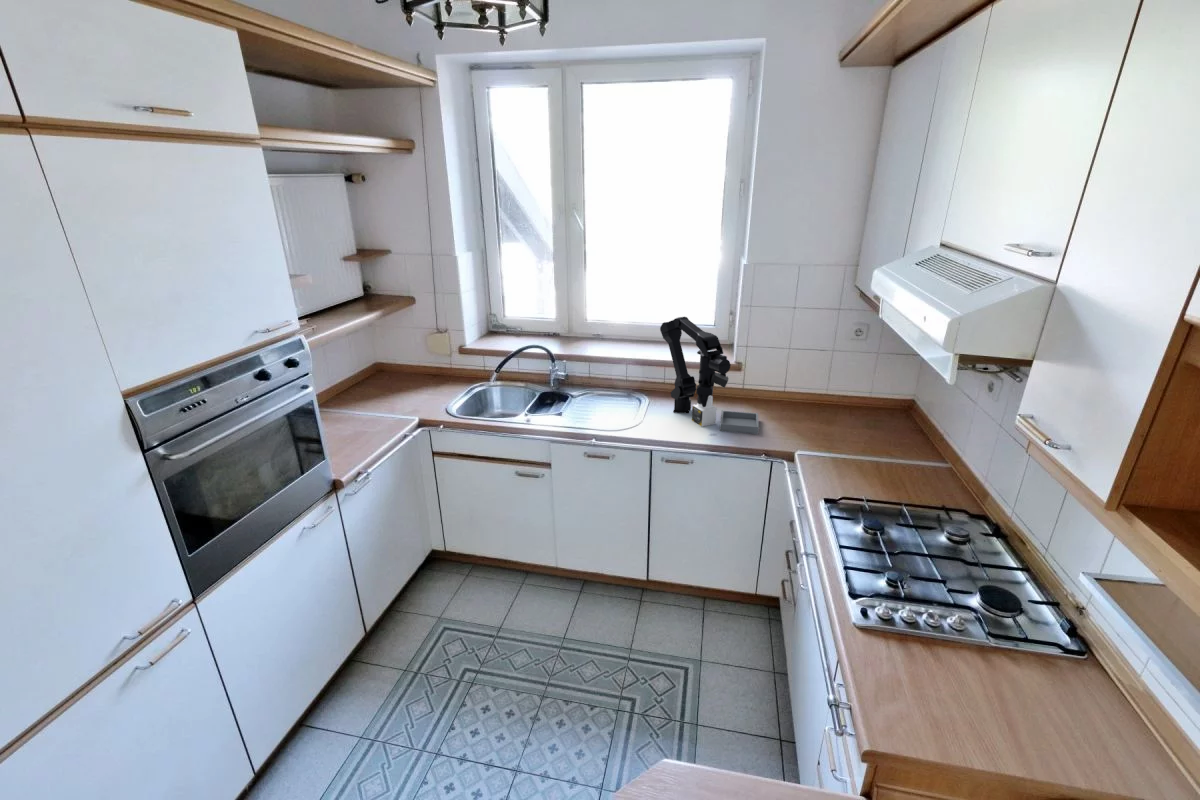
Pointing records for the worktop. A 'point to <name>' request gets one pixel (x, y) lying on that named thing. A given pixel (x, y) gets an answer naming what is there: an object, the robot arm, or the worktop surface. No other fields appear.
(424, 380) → the worktop surface
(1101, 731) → the worktop surface
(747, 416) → the bin
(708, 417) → the medicine bottle
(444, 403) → the worktop surface
